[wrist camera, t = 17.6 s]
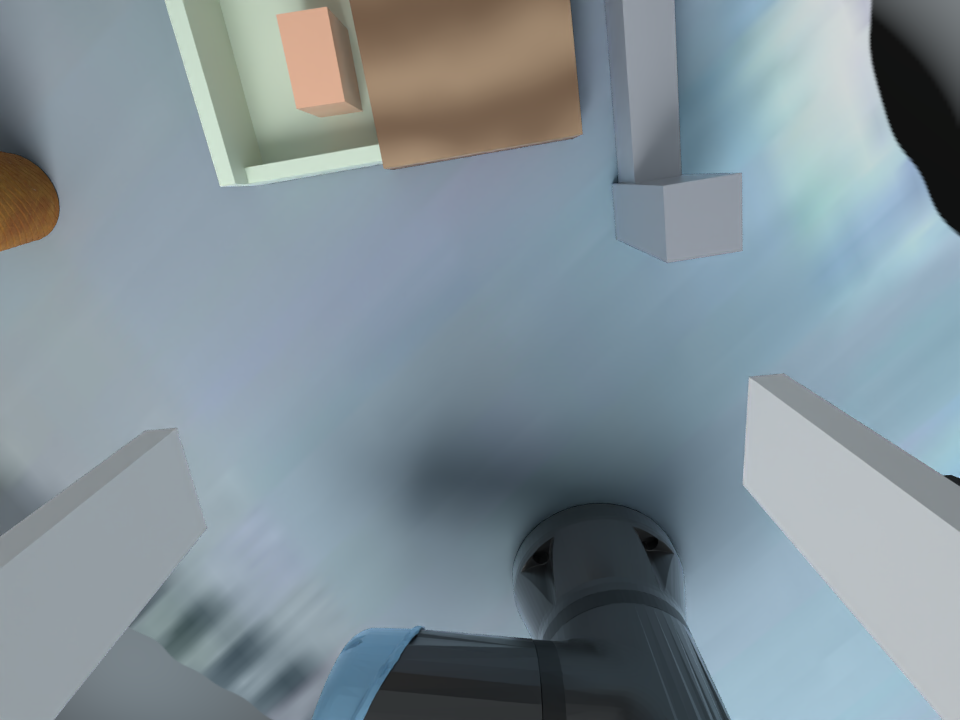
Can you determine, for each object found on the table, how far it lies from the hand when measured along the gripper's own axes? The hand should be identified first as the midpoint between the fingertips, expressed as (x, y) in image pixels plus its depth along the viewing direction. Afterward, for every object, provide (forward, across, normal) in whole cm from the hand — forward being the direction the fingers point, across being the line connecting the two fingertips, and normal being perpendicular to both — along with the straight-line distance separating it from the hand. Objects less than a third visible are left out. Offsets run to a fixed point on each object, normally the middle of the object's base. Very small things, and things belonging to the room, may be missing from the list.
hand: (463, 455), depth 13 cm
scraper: (+30, -12, -13) cm, 35 cm away
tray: (+30, +11, -17) cm, 36 cm away
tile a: (+27, +7, -14) cm, 31 cm away
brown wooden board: (+30, -1, -16) cm, 34 cm away
